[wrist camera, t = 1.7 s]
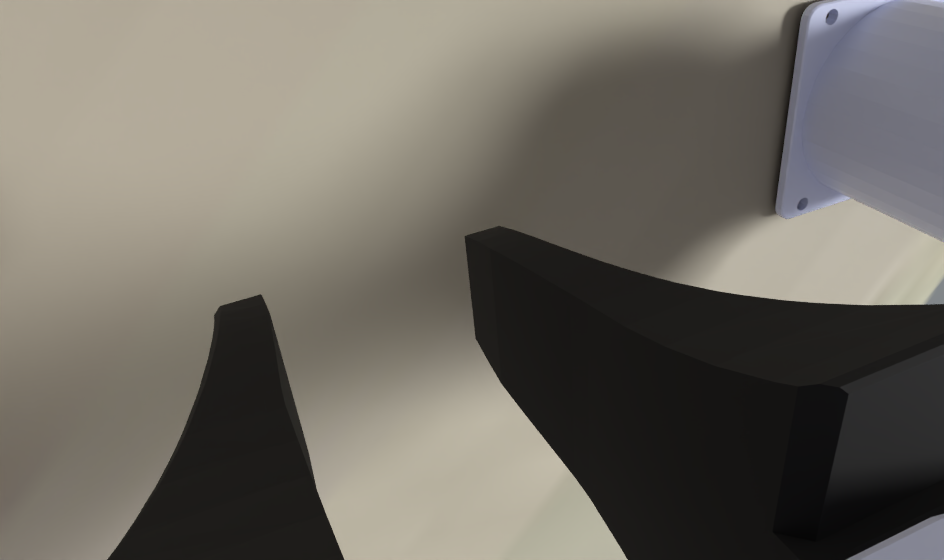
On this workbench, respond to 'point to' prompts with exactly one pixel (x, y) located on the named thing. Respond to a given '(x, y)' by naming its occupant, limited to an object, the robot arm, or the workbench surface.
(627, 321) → the robot arm
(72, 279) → the workbench surface
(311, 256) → the workbench surface
